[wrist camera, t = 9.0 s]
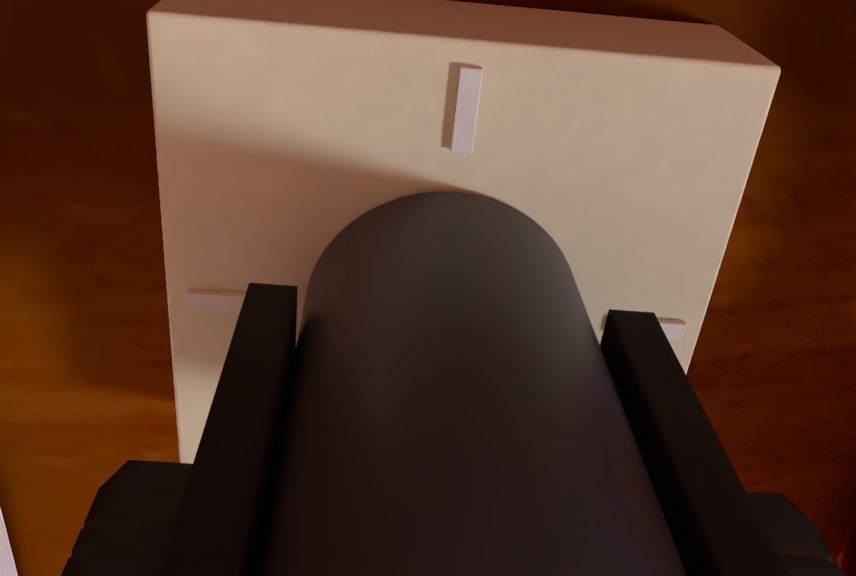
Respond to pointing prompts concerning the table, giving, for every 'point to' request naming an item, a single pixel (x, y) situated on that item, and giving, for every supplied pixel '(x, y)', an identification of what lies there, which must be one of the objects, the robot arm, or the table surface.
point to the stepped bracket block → (6, 552)
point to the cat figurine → (849, 551)
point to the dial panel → (441, 148)
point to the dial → (455, 411)
